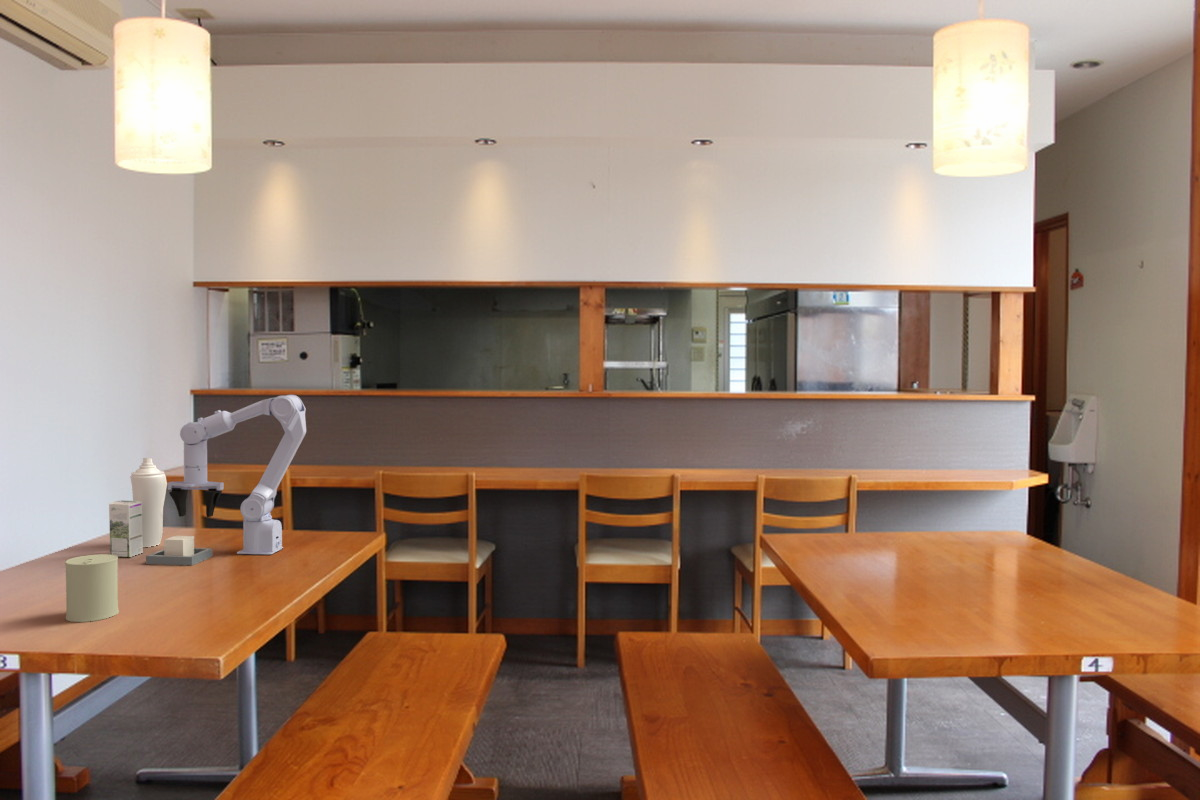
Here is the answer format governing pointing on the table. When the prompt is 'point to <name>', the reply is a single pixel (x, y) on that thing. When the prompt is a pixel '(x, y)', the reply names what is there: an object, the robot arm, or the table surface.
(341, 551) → the table surface
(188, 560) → the slate dish
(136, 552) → the syrup box
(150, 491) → the spray can
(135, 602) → the table surface
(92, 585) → the can
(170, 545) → the cream cube
